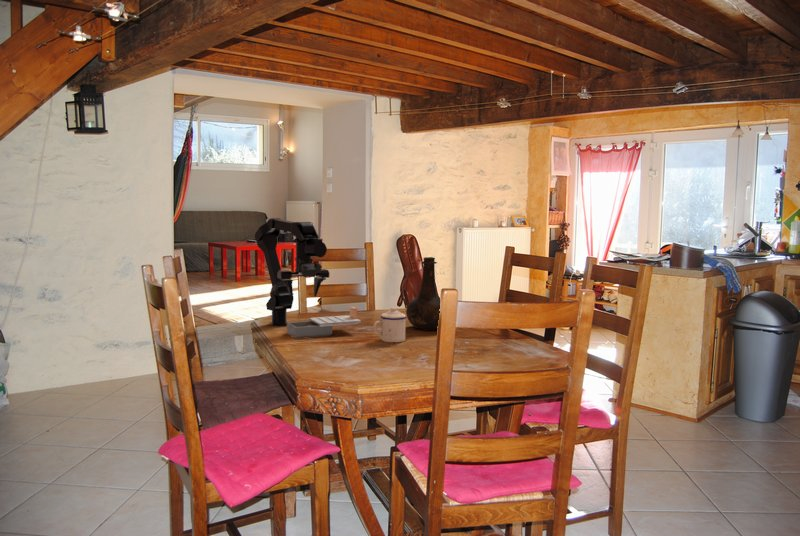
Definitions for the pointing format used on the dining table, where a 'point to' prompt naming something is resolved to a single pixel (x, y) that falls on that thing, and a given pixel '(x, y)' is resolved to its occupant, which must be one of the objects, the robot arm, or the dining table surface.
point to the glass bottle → (425, 300)
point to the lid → (338, 319)
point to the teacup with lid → (392, 326)
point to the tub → (307, 329)
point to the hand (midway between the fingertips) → (303, 296)
